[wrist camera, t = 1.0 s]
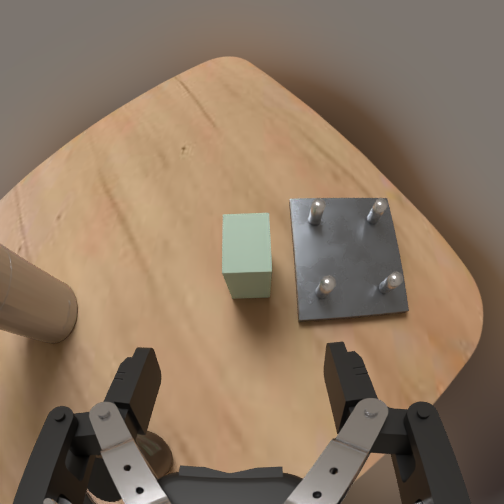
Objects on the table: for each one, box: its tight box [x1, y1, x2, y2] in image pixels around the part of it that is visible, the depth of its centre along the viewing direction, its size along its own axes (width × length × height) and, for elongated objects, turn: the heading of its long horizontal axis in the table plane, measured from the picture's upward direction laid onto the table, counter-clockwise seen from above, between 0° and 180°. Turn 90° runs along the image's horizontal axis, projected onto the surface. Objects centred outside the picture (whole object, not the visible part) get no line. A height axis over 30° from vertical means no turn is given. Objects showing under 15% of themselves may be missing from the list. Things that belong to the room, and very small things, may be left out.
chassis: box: [289, 198, 409, 322], centre depth 37 cm, size 14×16×5 cm
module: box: [222, 213, 272, 299], centre depth 34 cm, size 4×6×10 cm
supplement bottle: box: [87, 431, 172, 502], centre depth 25 cm, size 7×7×12 cm
